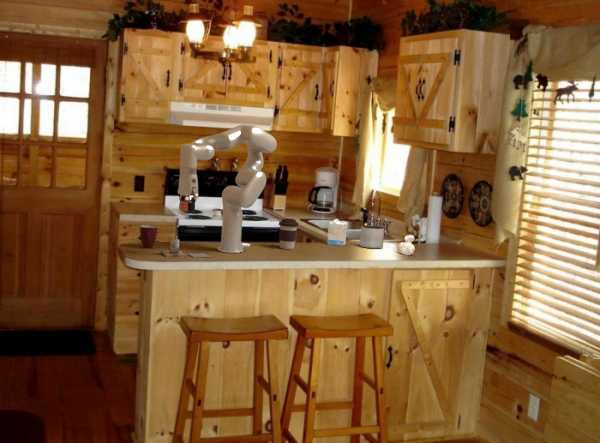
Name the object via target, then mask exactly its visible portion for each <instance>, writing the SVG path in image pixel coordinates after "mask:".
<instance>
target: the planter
mask: <svg viewBox="0 0 600 443" xmlns="http://www.w3.org/2000/svg"><path fill="white" fill-rule="evenodd" d="M360 228H361V229H360V237H359V238H360V240H359V246H360V247H361V248H365V249H369V250H370V249H371V250H381V249H382V248H383V247H384V239H385V238H384V236H385V227H384V226H380V225H370V224H368V225H367V224H365V225H363V224H362V225H361V227H360Z"/></svg>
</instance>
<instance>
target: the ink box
mask: <svg viewBox="0 0 600 443" xmlns="http://www.w3.org/2000/svg"><path fill="white" fill-rule="evenodd" d="M347 226H348V223H347V222H341V221H340V220H339V219H338V218H335V219H333V221H331V222H328V229H327V242H326V244H327V245H330V246H344V245H346V240H347Z"/></svg>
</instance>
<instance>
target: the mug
mask: <svg viewBox="0 0 600 443" xmlns="http://www.w3.org/2000/svg"><path fill="white" fill-rule="evenodd" d="M139 234H140V240H141V241H140V242H141V244H142V246H143V248H146V249H152V248H153V247H154V244H155V243H156V241H157V240H156V239H157V235H158V226H156V225H149V224H145V225H140V227H139Z"/></svg>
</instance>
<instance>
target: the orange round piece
mask: <svg viewBox="0 0 600 443" xmlns="http://www.w3.org/2000/svg"><path fill="white" fill-rule="evenodd" d="M188 203H190V202H189V199H185V200H181V201H180V200H179V204H178V211H181V212H189V213H190V211H188Z"/></svg>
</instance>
